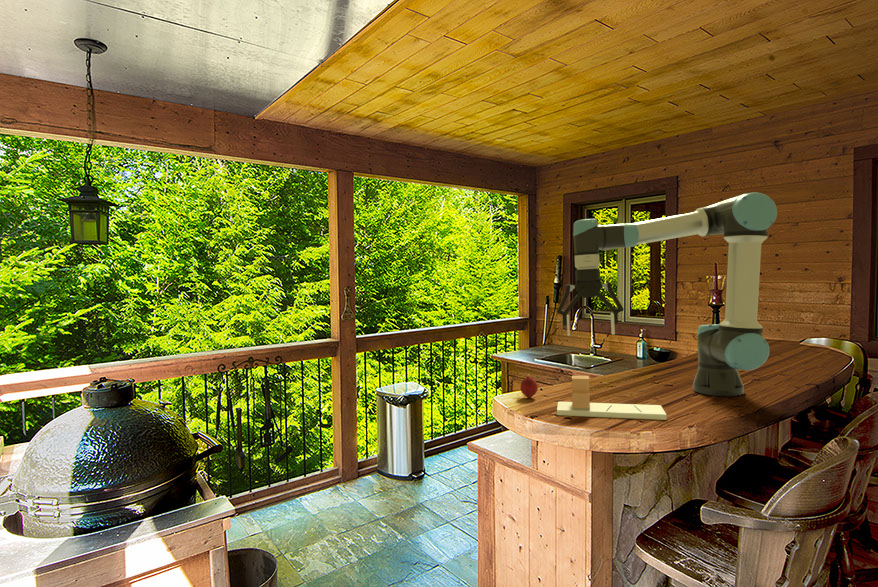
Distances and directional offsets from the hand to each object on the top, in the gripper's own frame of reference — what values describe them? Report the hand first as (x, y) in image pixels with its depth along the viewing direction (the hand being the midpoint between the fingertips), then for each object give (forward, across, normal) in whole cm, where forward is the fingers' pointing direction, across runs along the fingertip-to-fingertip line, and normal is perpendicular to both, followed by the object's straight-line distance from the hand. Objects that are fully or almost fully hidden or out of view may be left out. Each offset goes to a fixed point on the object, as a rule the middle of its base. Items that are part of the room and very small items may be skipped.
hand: (590, 334), depth 155 cm
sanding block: (+21, -4, -10) cm, 23 cm away
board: (+22, +4, -10) cm, 25 cm away
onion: (+22, -21, +5) cm, 31 cm away
